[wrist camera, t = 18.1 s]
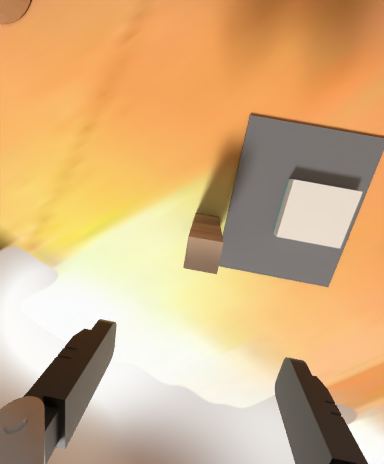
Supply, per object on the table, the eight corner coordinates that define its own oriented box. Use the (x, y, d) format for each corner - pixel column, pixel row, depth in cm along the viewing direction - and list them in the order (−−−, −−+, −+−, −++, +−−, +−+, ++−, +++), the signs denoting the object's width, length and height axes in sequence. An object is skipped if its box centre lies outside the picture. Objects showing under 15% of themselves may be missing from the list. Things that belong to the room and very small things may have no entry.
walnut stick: (195, 213, 33) (188, 236, 21) (218, 217, 33) (223, 242, 21) (192, 234, 34) (183, 268, 22) (214, 238, 34) (216, 274, 22)
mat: (249, 115, 29) (250, 114, 28) (385, 139, 28) (388, 139, 28) (216, 264, 35) (216, 265, 34) (326, 285, 34) (328, 287, 34)
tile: (293, 179, 28) (362, 191, 28) (288, 178, 30) (352, 190, 30) (276, 236, 30) (340, 248, 30) (272, 232, 32) (332, 243, 32)
